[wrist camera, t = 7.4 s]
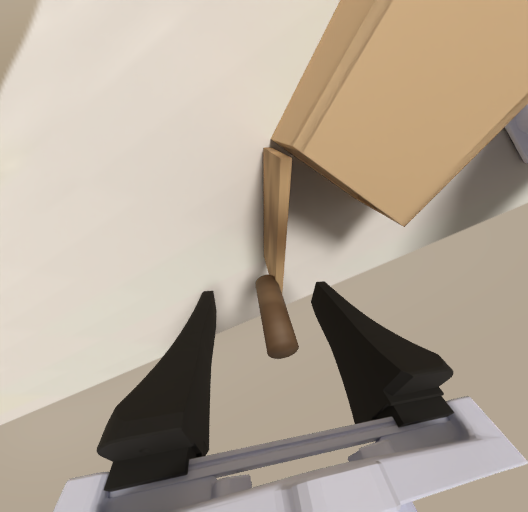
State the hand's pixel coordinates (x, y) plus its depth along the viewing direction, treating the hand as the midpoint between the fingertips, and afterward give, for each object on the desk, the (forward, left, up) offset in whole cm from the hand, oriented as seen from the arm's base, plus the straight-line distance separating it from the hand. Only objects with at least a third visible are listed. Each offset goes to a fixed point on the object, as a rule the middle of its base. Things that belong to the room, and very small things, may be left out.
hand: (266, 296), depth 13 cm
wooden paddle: (+1, -3, -7) cm, 8 cm away
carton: (-2, -14, -7) cm, 16 cm away
